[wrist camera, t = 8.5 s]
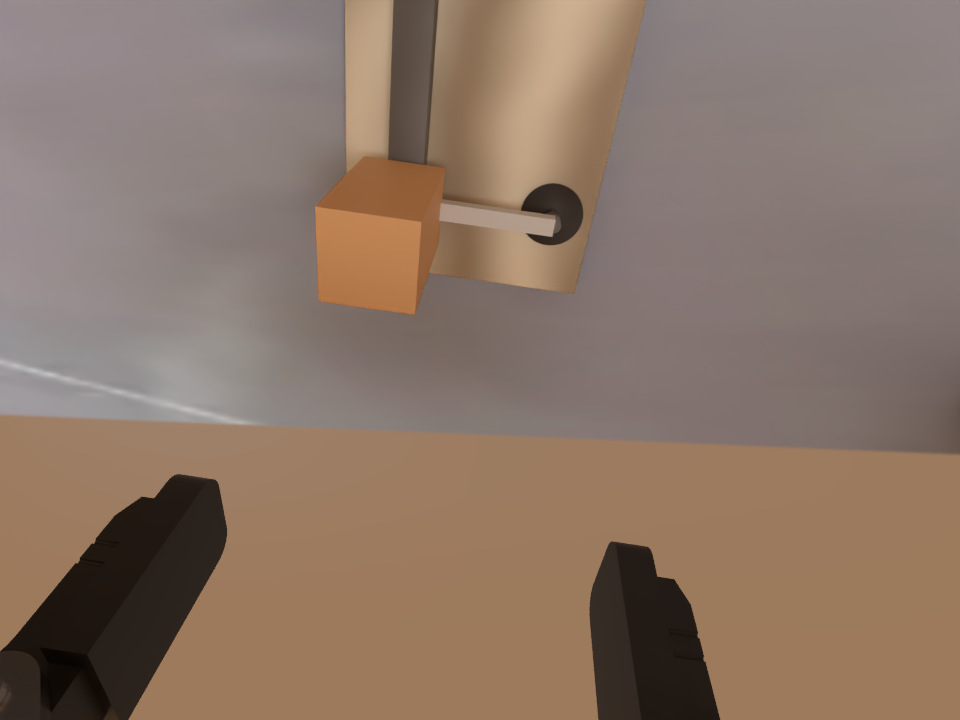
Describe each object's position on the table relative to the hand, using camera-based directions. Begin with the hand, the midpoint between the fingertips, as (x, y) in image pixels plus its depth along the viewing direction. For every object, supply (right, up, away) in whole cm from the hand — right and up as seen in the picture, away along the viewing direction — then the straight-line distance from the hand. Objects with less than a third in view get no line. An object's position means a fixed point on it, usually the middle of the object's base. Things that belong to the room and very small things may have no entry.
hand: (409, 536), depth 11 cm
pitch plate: (+2, +17, +13) cm, 21 cm away
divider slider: (+1, +11, +15) cm, 19 cm away
